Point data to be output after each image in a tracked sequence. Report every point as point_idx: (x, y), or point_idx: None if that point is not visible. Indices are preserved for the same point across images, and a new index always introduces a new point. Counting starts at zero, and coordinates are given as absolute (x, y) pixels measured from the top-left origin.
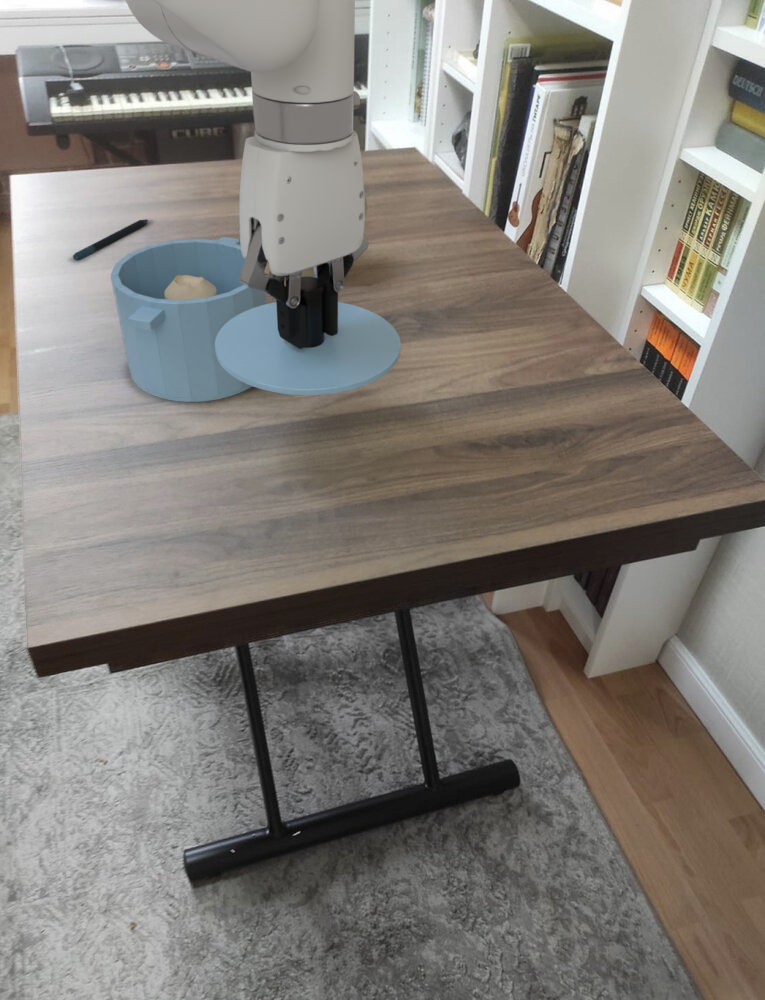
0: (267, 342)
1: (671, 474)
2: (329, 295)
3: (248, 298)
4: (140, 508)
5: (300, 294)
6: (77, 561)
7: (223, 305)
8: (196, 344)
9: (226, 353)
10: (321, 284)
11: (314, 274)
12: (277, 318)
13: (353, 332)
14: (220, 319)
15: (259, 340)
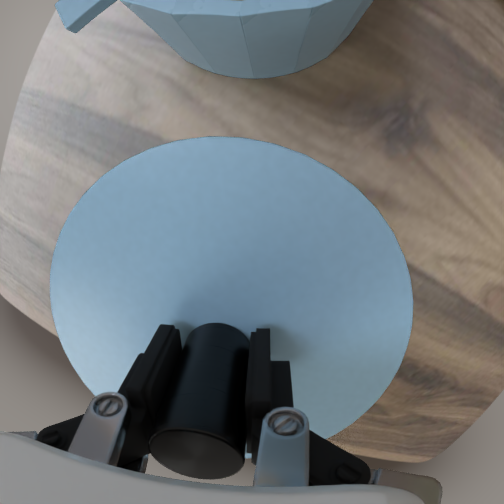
0: (141, 303)
1: (424, 439)
2: (250, 451)
3: (294, 20)
4: (55, 213)
5: (145, 470)
6: (11, 240)
7: (216, 22)
8: (173, 38)
9: (62, 284)
10: (222, 477)
11: (261, 431)
12: (129, 371)
13: (314, 376)
14: (210, 33)
15: (131, 287)
